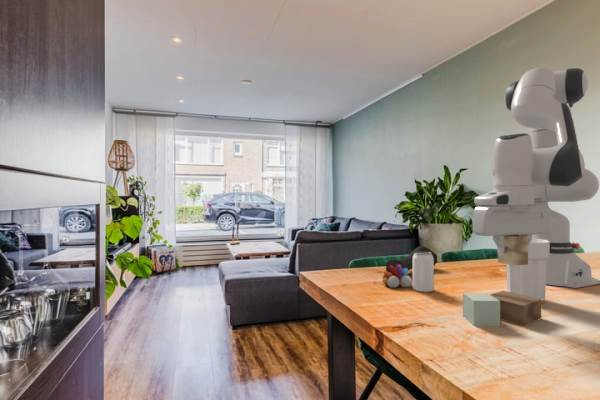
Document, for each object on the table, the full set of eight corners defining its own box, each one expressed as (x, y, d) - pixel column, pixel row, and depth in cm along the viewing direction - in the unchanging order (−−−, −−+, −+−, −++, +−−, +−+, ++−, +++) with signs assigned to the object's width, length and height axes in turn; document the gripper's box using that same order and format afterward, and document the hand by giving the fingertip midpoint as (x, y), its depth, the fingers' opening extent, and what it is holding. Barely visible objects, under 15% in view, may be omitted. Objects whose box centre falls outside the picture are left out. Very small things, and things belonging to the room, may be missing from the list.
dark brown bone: (422, 270, 144) (391, 291, 124) (410, 248, 146) (377, 266, 126) (444, 261, 137) (414, 283, 117) (431, 239, 139) (400, 256, 119)
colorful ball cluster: (378, 282, 117) (378, 262, 116) (405, 281, 117) (405, 261, 117) (387, 289, 108) (387, 267, 108) (415, 288, 109) (415, 266, 109)
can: (435, 293, 103) (435, 255, 103) (414, 292, 104) (413, 254, 104) (431, 287, 110) (431, 251, 109) (411, 286, 111) (411, 251, 111)
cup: (494, 296, 100) (494, 238, 100) (518, 291, 104) (518, 236, 104) (533, 307, 89) (533, 243, 89) (558, 301, 94) (558, 241, 94)
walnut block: (503, 308, 89) (503, 290, 89) (541, 319, 82) (541, 299, 82) (485, 315, 85) (484, 296, 84) (523, 327, 77) (523, 305, 77)
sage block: (487, 317, 83) (487, 293, 83) (500, 326, 77) (500, 301, 77) (462, 316, 83) (462, 293, 83) (473, 325, 78) (473, 300, 77)
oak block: (512, 261, 86) (512, 234, 85) (527, 264, 81) (527, 236, 81) (497, 261, 85) (497, 234, 85) (512, 265, 80) (512, 236, 80)
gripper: (536, 197, 88) (536, 249, 88) (468, 198, 84) (468, 252, 84) (559, 197, 82) (558, 253, 82) (486, 198, 78) (486, 256, 78)
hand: (512, 252), depth 83 cm, fingers closed on oak block, 4 cm apart
